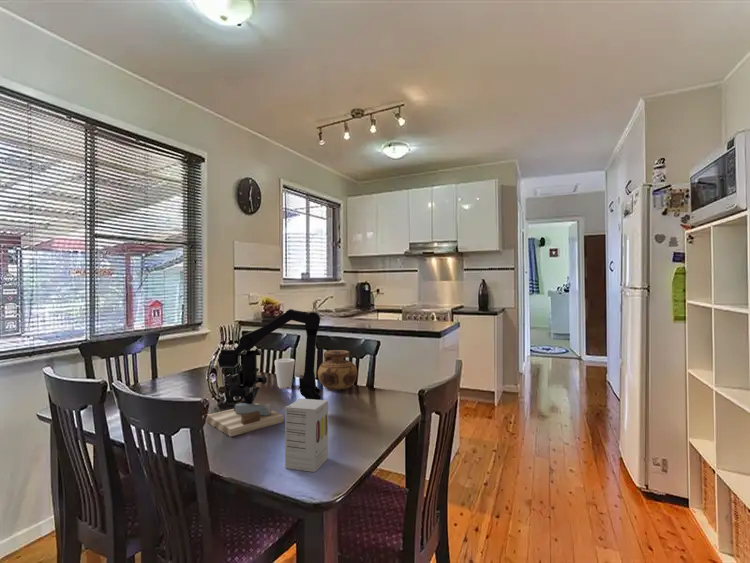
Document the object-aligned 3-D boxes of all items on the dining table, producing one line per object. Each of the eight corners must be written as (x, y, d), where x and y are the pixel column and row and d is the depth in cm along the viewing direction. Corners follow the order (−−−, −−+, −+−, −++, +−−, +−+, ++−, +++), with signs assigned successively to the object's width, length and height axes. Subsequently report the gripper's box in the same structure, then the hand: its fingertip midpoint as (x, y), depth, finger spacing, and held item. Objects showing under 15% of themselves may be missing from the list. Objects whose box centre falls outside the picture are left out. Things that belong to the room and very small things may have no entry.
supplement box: (315, 473, 106) (315, 409, 106) (284, 468, 109) (283, 407, 109) (329, 457, 115) (328, 399, 115) (299, 454, 118) (299, 397, 118)
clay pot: (367, 378, 198) (359, 343, 191) (347, 402, 183) (337, 365, 177) (335, 374, 208) (327, 340, 201) (314, 396, 193) (304, 360, 186)
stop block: (259, 420, 139) (259, 412, 139) (243, 425, 135) (243, 416, 135) (257, 419, 141) (257, 411, 141) (241, 423, 137) (241, 414, 137)
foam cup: (291, 389, 190) (291, 362, 190) (272, 389, 190) (272, 362, 190) (296, 384, 200) (296, 358, 200) (277, 384, 200) (277, 358, 200)
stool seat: (283, 421, 145) (283, 415, 145) (230, 436, 131) (230, 429, 131) (256, 409, 160) (256, 403, 160) (206, 421, 146) (206, 415, 146)
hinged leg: (272, 413, 147) (272, 403, 147) (268, 415, 144) (268, 405, 144) (238, 410, 150) (238, 400, 150) (233, 412, 147) (233, 403, 147)
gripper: (241, 360, 160) (241, 398, 161) (215, 372, 142) (215, 415, 142) (267, 361, 158) (267, 400, 159) (244, 373, 140) (244, 417, 140)
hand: (249, 407), depth 150 cm, fingers closed
